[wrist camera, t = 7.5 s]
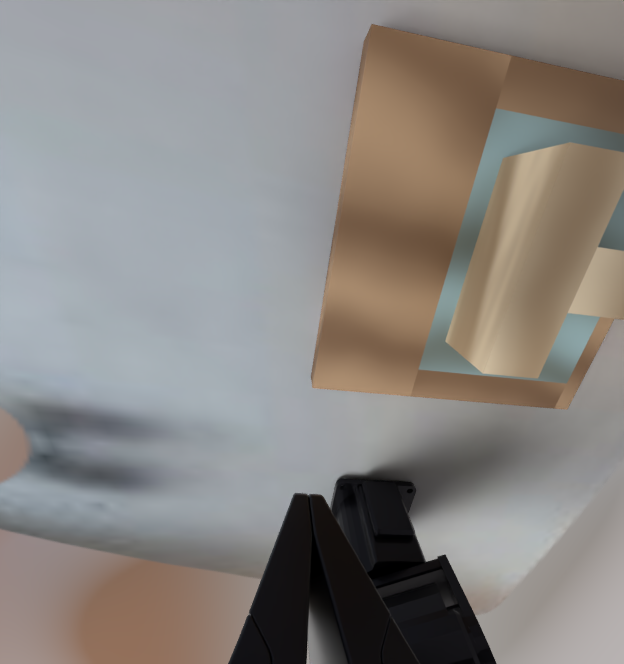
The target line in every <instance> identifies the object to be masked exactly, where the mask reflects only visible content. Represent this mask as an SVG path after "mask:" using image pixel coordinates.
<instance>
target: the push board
mask: <svg viewBox="0 0 624 664" xmlns="http://www.w3.org/2000/svg"><path fill="white" fill-rule="evenodd" d="M569 142H571V143H577V144H582V145H587V146H593V147H598V148H603V149H608V150H614V151H619V152H624V81H622V80H618V79H613V78H609V77H604V76H600V75H595V74H591V73H587V72H582V71H578V70H573V69H569V68H564V67H560V66H555V65H551V64H547V63H542V62H538V61H533V60H529V59H524V58H520V57H516V56H511V55H507V54H502V53H498V52H493V51H489V50H485V49H480V48H476V47H471V46H467V45H462V44H458V43H453V42H449V41H445V40H440V39H436V38H431V37H427V36H422V35H418V34H414V33H409V32H405V31H400V30H396V29H391V28H387V27H383V26H378V25H374V24H372V25H371V27H370V29H369V31H368V34H367V36H366V38H365V40H364V44H363V51H362V57H361V63H360V69H359V76H358V82H357V88H356V95H355V101H354V107H353V114H352V120H351V126H350V133H349V139H348V145H347V152H346V158H345V164H344V171H343V177H342V183H341V190H340V196H339V202H338V209H337V215H336V221H335V228H334V234H333V240H332V247H331V253H330V259H329V266H328V272H327V278H326V285H325V291H324V297H323V304H322V310H321V316H320V323H319V329H318V335H317V342H316V348H315V354H314V361H313V367H312V373H311V380H312V387H313V388H319V389H330V390H342V391H354V392H366V393H378V394H389V395H401V396H413V397H425V398H437V399H449V400H460V401H472V402H484V403H496V404H508V405H519V406H531V407H543V408H555V409H568V407H569V405H570V403H571V401H572V399H573V397H574V395H575V393H576V392H577V390H578V388H579V386H580V384H581V382H582V380H583V378H584V376H585V374H586V372H587V370H588V368H589V367H590V365H591V363H592V361H593V359H594V357H595V355H596V353H597V351H598V349H599V347H600V345H601V343H602V341H603V340H604V338H605V336H606V334H607V332H608V330H609V328H610V326H611V324H612V322H613V320H614V318H605V317H597V316H588V315H580V314H572V313H567V315H566V318H565V320H564V322H563V324H562V326H561V329H560V331H559V333H558V335H557V338H556V340H555V342H554V344H553V346H552V349H551V351H550V353H549V355H548V357H547V360H546V362H545V364H544V366H543V368H542V371H541V373H540V375H539V377H538V379H537V378H526V377H515V376H505V375H494V374H483V373H482V372H480V371H479V370H478V369H477V368H476V367H475V366H473V365H472V364H471V363H470V362H469V361H468V360H466V359H465V358H464V357H463V356H462V355H461V354H459V353H458V352H457V351H456V350H455V349H454V348H452V347H451V346H450V345H449V344H448V343H447V342H445V340H446V337H447V334H448V331H449V328H450V324H451V321H452V318H453V315H454V312H455V309H456V305H457V302H458V299H459V296H460V293H461V290H462V286H463V283H464V280H465V277H466V274H467V271H468V267H469V264H470V261H471V258H472V255H473V252H474V248H475V245H476V242H477V239H478V236H479V232H480V229H481V226H482V223H483V220H484V217H485V213H486V210H487V207H488V204H489V201H490V198H491V194H492V191H493V188H494V185H495V182H496V179H497V175H498V172H499V169H500V166H501V163H502V160H503V158H505V157H509V156H514V155H518V154H522V153H527V152H531V151H535V150H539V149H544V148H548V147H552V146H557V145H561V144H565V143H569ZM598 247H601V248H607V249H614V250H621V251H624V190H623V192H622V194H621V196H620V199H619V201H618V203H617V205H616V207H615V210H614V212H613V214H612V216H611V218H610V221H609V223H608V225H607V227H606V230H605V232H604V234H603V236H602V238H601V241H600V243H599V245H598Z"/></svg>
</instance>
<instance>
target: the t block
mask: <svg viewBox="0 0 624 664" xmlns="http://www.w3.org/2000/svg"><path fill="white" fill-rule="evenodd" d="M623 190H624V152H619V151H614V150H608V149H603V148H598V147H593V146H587V145H582V144H577V143H571V142H569V143H565V144H561V145H557V146H552V147H548V148H544V149H539V150H535V151H531V152H527V153H522V154H518V155H514V156H509V157H505V158H503V160H502V163H501V166H500V169H499V172H498V175H497V179H496V182H495V185H494V188H493V191H492V194H491V198H490V201H489V204H488V207H487V210H486V213H485V217H484V220H483V223H482V226H481V229H480V232H479V236H478V239H477V242H476V245H475V248H474V252H473V255H472V258H471V261H470V264H469V267H468V271H467V274H466V277H465V280H464V283H463V286H462V290H461V293H460V296H459V299H458V302H457V305H456V309H455V312H454V315H453V318H452V321H451V324H450V328H449V331H448V334H447V337H446V340H445V342H447V343H448V344H449V345H450V346H451V347H452V348H454V349H455V350H456V351H457V352H458V353H459V354H461V355H462V356H463V357H464V358H465V359H466V360H468V361H469V362H470V363H471V364H472V365H473V366H475V367H476V368H477V369H478V370H479V371H480V372H482V373H483V374H494V375H505V376H515V377H526V378H537V379H538V377H539V375H540V373H541V371H542V368H543V366H544V364H545V362H546V360H547V357H548V355H549V353H550V351H551V349H552V346H553V344H554V342H555V340H556V338H557V335H558V333H559V331H560V329H561V326H562V324H563V322H564V320H565V318H566V315H567V313H572V314H580V315H588V316H597V317H605V318H614V319H622V320H624V251H621V250H614V249H607V248H601V247H598V245H599V243H600V241H601V238H602V236H603V234H604V232H605V230H606V227H607V225H608V223H609V221H610V218H611V216H612V214H613V212H614V210H615V207H616V205H617V203H618V201H619V199H620V196H621V194H622V192H623Z"/></svg>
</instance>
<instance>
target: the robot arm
mask: <svg viewBox="0 0 624 664" xmlns="http://www.w3.org/2000/svg"><path fill="white" fill-rule="evenodd" d="M342 485H343V486H342ZM415 492H416V488H415V486H414V484H413V483H411V482H396V481H376V480H357V479H339V480H338V481H337V482H336V484H335V489H334V493H333V498H332V502H331V507H330V508H329V506H328V504H327V502H326V501H325V499H324V497H323V496H322V495H319V494H309V495H307V494H303V493H295V494H294V495H293V498H292V500H291V503H290V506H289V508H288V511H287V513H286V516H285V519H284V521H283V524H282V527H281V529H280V532H279V535H278V537H277V540H276V542H275V545H274V548H273V550H272V553H271V556H270V558H269V561H268V564H267V566H266V569H265V571H264V574H263V577H262V579H261V582H260V585H259V587H258V590H257V593H256V595H255V598H254V601H253V603H252V606H251V609H250V611H249V615H248V616H247V618H246V621H245V624H244V626H243V629H242V631H241V634H240V637H239V639H238V641H237V644H236V646H235V649H234V651H233V654H232V656H231V658H230V661H229V663H228V664H306V659H307V640H308V648H309V659H310V664H496V661H495V659H494V657H493V654H492V652H491V650H490V647H489V645H488V643H487V641H486V639H485V636H484V634H483V632H482V629H481V627H480V625H479V623H478V621H477V619H476V617H475V614H474V612H473V610H472V608H471V606H470V604H469V602H468V600H467V598H466V596H465V594H464V592H463V590H462V588H461V586H460V584H459V582H458V579H457V577H456V575H455V573H454V571H453V569H452V567H451V565H450V563H449V561H448V559H447V557H446V555H441V556H438V559H434V560H431V561H428V562H426V560H425V558H424V555H423V553H422V550H421V548H420V545H419V542H418V540H417V537H416V535H415V530H414V528H413V525H412V523H411V520H410V517H409V515H408V512H409V510H410V507H411V504H412V501H413V498H414V495H415Z"/></svg>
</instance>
